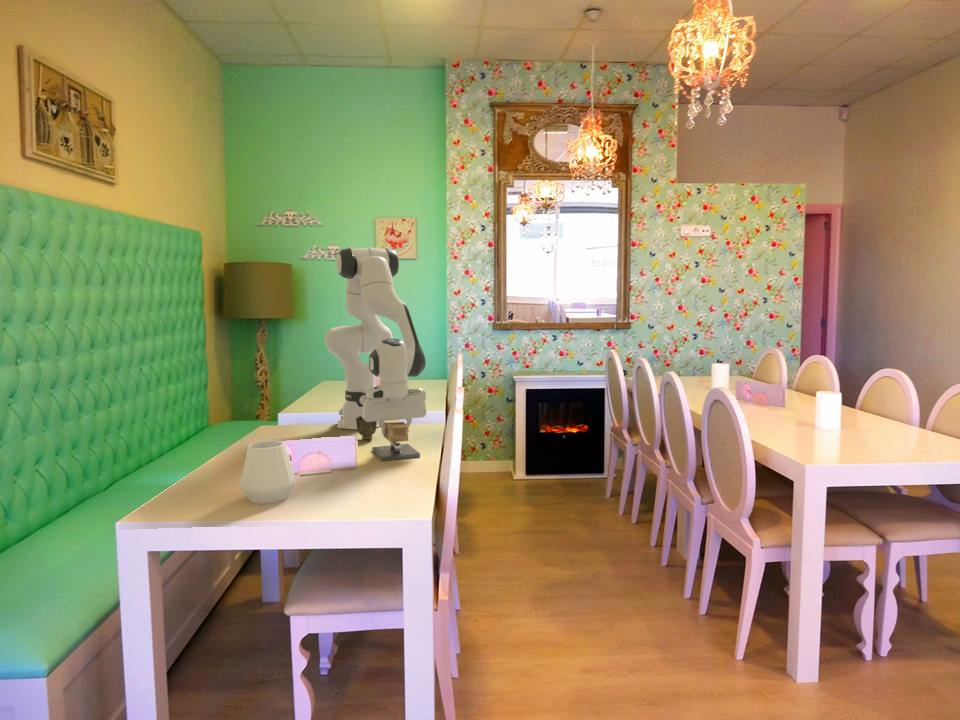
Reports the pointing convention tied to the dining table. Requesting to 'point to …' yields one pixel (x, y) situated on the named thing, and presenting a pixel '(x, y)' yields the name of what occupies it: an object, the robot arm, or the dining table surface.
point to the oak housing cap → (396, 430)
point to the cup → (366, 428)
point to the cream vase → (267, 472)
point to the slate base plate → (395, 456)
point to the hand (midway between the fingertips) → (395, 433)
